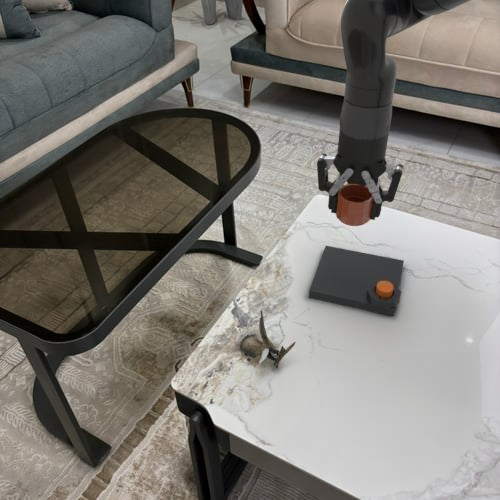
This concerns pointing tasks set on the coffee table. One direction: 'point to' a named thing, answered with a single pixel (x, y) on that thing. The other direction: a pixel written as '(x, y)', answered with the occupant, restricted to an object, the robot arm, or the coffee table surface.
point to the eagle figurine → (263, 346)
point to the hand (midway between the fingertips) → (353, 213)
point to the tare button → (384, 289)
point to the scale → (356, 280)
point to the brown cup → (354, 204)
